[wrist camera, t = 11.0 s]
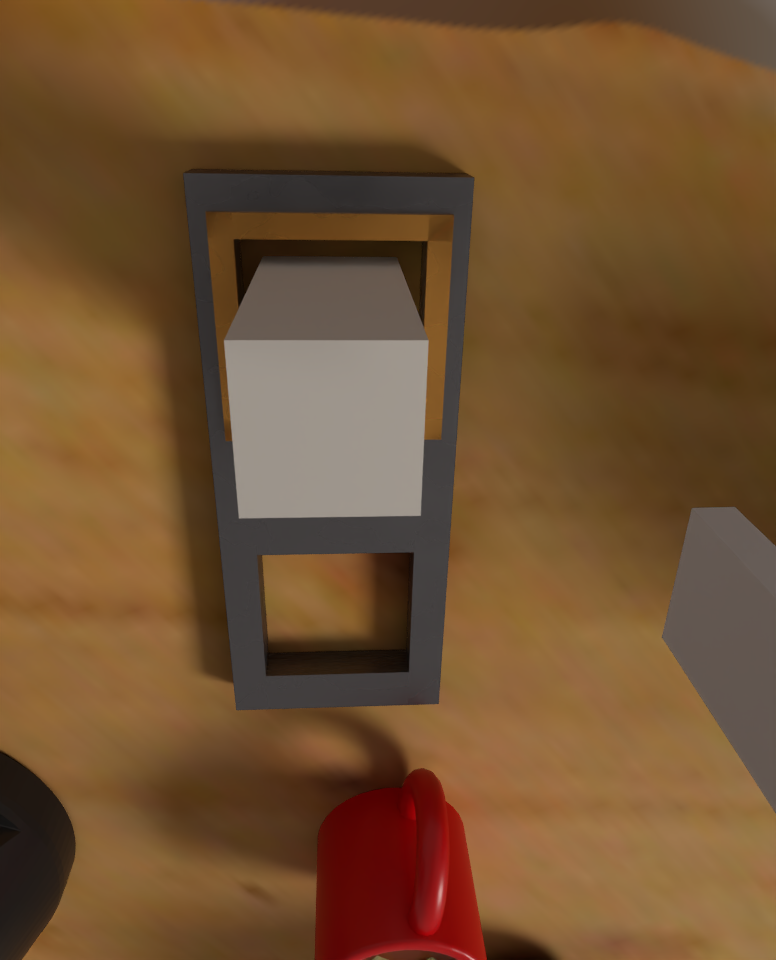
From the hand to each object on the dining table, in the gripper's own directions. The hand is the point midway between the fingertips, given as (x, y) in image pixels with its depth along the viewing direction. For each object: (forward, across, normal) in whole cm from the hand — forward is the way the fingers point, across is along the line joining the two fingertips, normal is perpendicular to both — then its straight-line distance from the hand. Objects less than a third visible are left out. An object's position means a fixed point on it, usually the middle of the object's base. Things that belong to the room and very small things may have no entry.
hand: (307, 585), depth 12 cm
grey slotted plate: (+16, +1, -6) cm, 17 cm away
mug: (+16, +4, -26) cm, 31 cm away
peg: (+16, +1, 0) cm, 16 cm away
